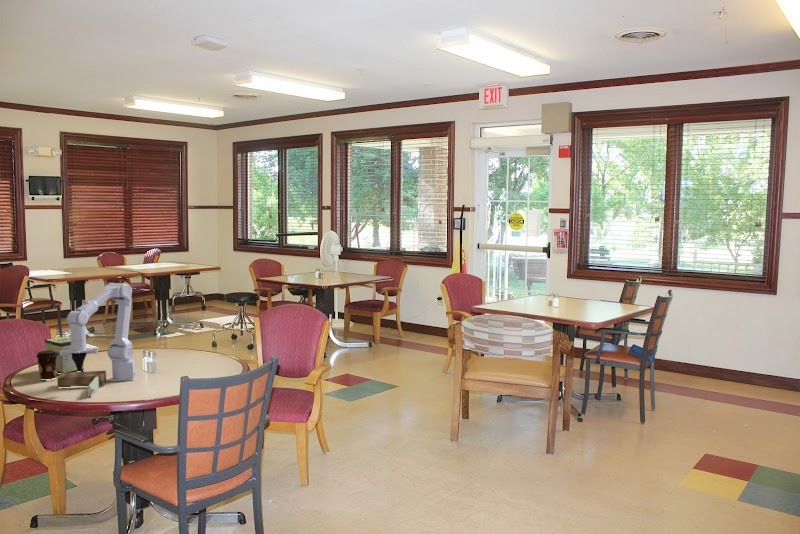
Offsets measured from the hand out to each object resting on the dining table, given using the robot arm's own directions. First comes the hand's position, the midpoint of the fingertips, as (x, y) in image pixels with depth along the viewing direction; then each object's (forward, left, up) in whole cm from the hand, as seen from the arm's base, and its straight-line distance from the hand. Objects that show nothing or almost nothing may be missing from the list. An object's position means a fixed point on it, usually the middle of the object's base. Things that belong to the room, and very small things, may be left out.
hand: (79, 370), depth 285 cm
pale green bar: (-6, +1, -9) cm, 11 cm away
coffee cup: (+19, -26, -10) cm, 33 cm away
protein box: (+15, -41, -10) cm, 44 cm away
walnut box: (+2, -12, -9) cm, 15 cm away
